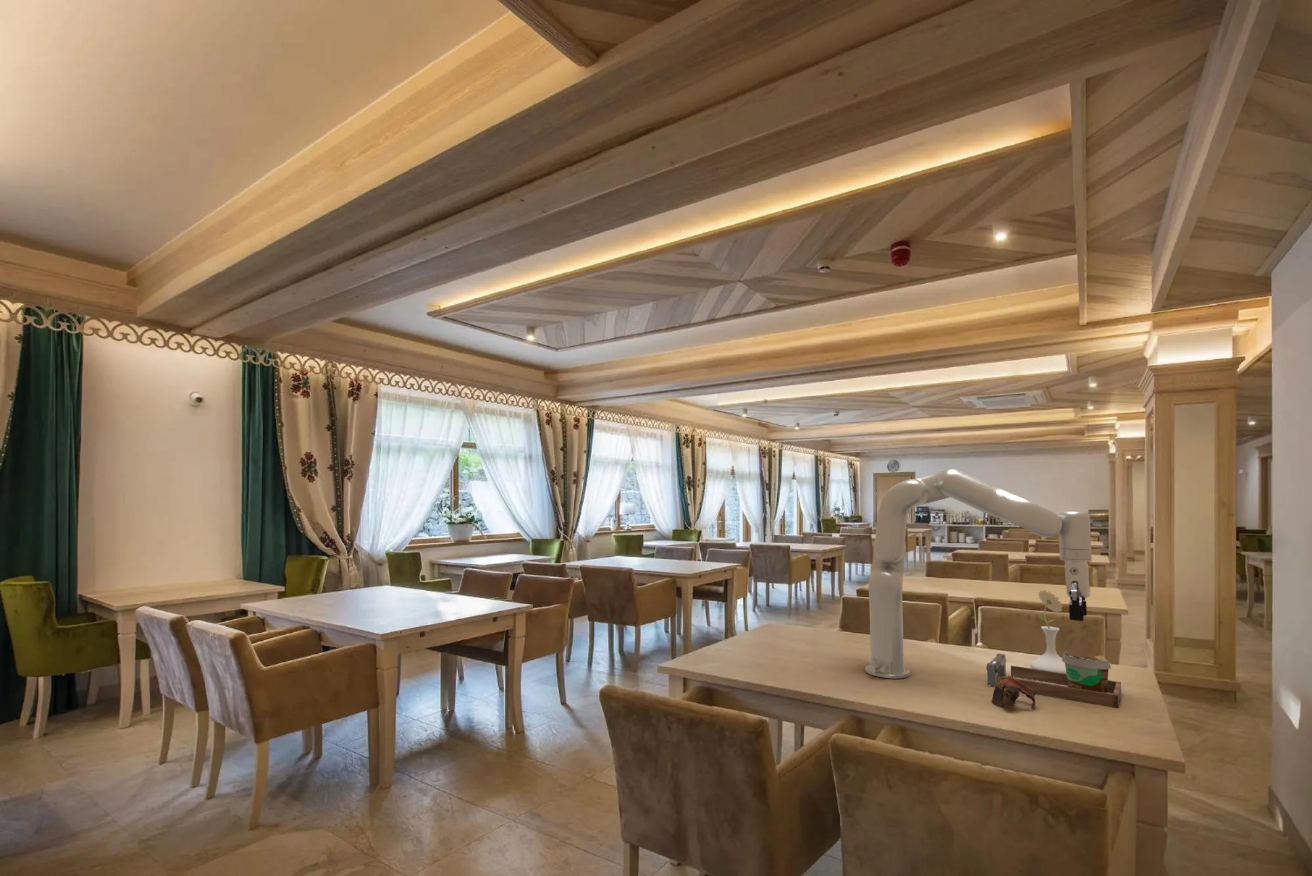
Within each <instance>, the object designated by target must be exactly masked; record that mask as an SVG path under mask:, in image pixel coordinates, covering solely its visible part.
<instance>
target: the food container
mask: <svg viewBox="0 0 1312 876" xmlns="http://www.w3.org/2000/svg"><path fill="white" fill-rule="evenodd" d="M1061 658H1062V661H1063V662H1064V663H1065V668H1066V675H1067V682H1068V685H1067V687H1072V688H1078V689H1084V690H1090V691H1096V692H1103V693H1108V692H1107V685H1108V680H1109V671H1110V670H1112V667H1111V663H1110V661H1109V660H1094V659H1092V658H1090V657H1084V656H1075V655H1072V654H1069V652H1068V651H1067V650H1065V651H1064V652H1063V654H1062V657H1061Z"/></svg>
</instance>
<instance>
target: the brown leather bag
mask: <svg viewBox="0 0 1312 876" xmlns="http://www.w3.org/2000/svg"><path fill="white" fill-rule="evenodd" d="M1006 677H1007V679H1003V680H1001V679H1000V680H999V681H998V682H997V685H996V687H994V689H993V693H992V698H991V702H992V703H993V704H995V705H996V706H998V707H1000V708H1002V707H1003V705H1005V706H1007V707H1011V708H1012V707H1014V705H1015V704H1016V701H1017V700H1018V699H1019V696H1020V694H1022V695H1025V696H1026V697H1027V698H1029V699H1030V700H1031V701H1032V704H1031V709H1032V708H1033V709H1034V708H1035V706H1036V697H1035V696H1036V695H1037V694H1036V692H1035V691H1034V690H1033V689H1031V688H1029V687H1028V686H1026V685H1025V684H1023V683H1021V682H1020V681H1018V680H1016V679H1017V678H1016V677H1012V676H1011V675H1007V676H1006ZM1015 678H1016V679H1015ZM1005 687H1006V689H1005Z"/></svg>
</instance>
